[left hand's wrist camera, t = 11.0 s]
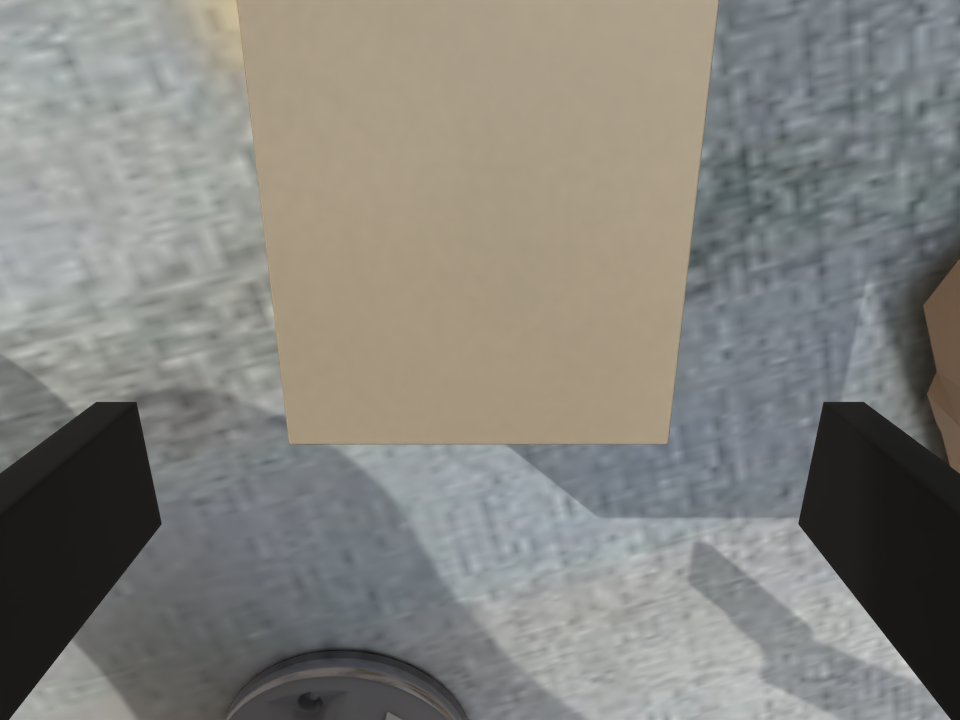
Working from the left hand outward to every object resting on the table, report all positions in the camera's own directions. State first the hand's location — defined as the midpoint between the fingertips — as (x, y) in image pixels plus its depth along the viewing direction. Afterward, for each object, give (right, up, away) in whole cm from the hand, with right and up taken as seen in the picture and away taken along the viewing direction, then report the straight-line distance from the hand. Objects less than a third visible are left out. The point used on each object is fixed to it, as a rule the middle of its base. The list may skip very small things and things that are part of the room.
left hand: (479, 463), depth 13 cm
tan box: (0, +12, +15) cm, 19 cm away
